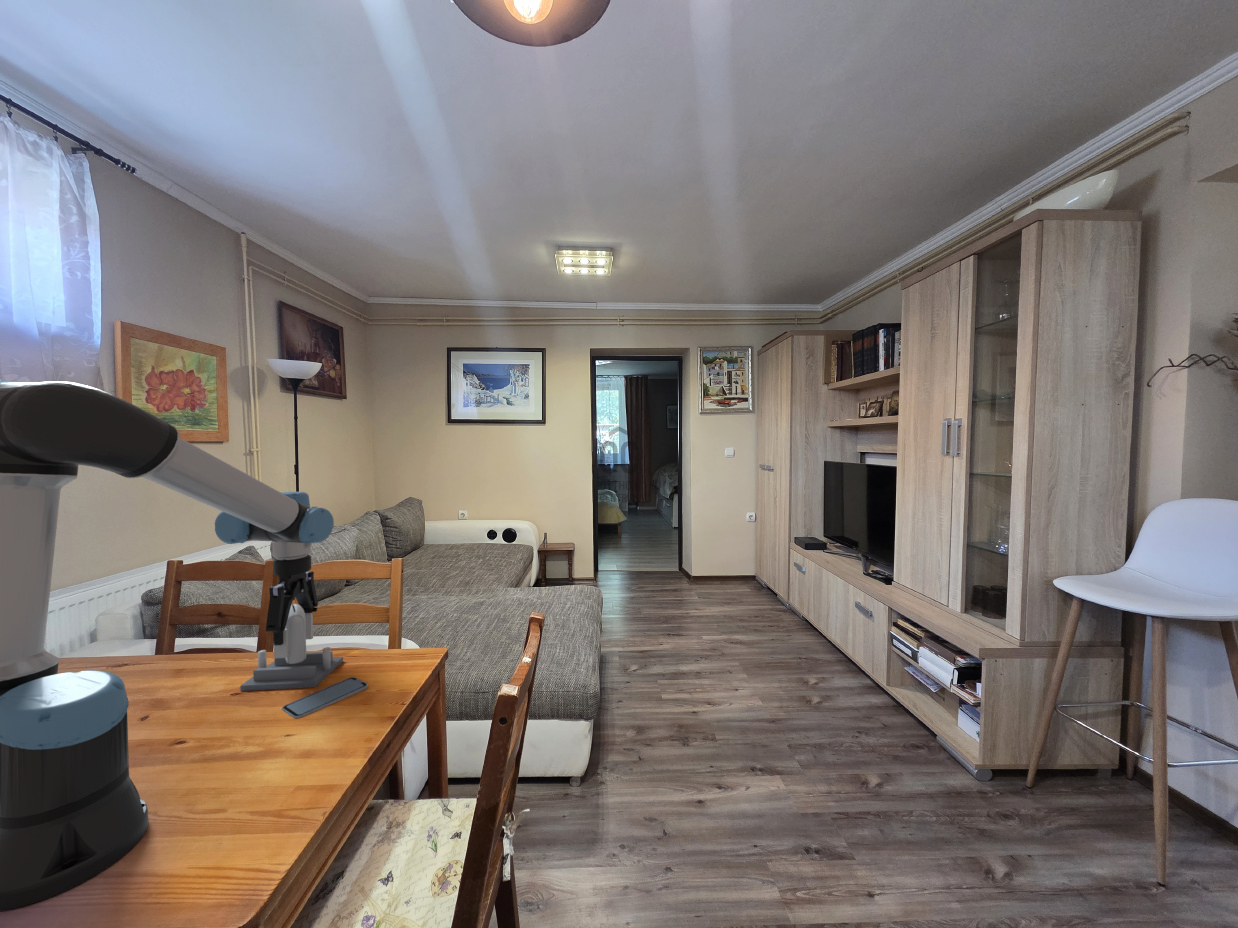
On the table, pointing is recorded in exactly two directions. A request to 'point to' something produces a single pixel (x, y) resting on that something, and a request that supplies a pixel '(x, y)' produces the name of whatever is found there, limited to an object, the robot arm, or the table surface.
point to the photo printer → (296, 634)
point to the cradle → (292, 671)
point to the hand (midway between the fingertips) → (294, 647)
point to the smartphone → (324, 697)
